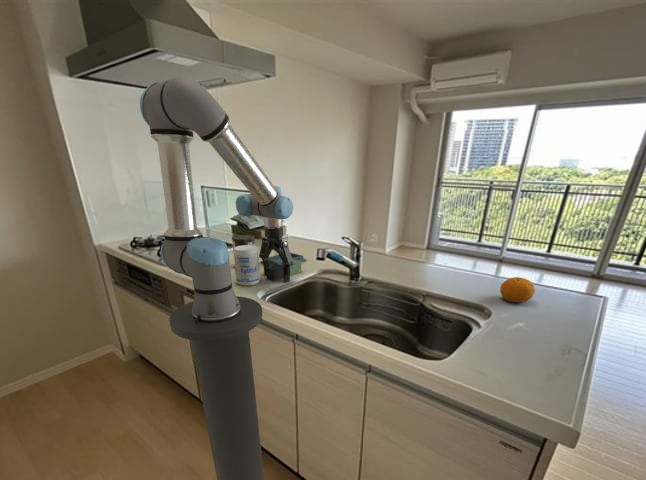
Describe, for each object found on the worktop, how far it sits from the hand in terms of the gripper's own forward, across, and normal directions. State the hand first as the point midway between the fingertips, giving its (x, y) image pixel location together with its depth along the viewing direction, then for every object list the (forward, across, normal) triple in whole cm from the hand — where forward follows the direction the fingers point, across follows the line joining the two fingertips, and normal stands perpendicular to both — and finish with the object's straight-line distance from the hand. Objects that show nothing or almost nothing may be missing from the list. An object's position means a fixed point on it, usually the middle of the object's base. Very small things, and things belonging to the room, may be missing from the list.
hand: (276, 277), depth 145 cm
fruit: (+1, -82, -41) cm, 91 cm away
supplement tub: (0, +4, +12) cm, 12 cm away
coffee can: (0, +24, -1) cm, 25 cm away
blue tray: (0, +16, -18) cm, 25 cm away
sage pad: (0, +1, -10) cm, 10 cm away
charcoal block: (0, 0, 0) cm, 0 cm away
